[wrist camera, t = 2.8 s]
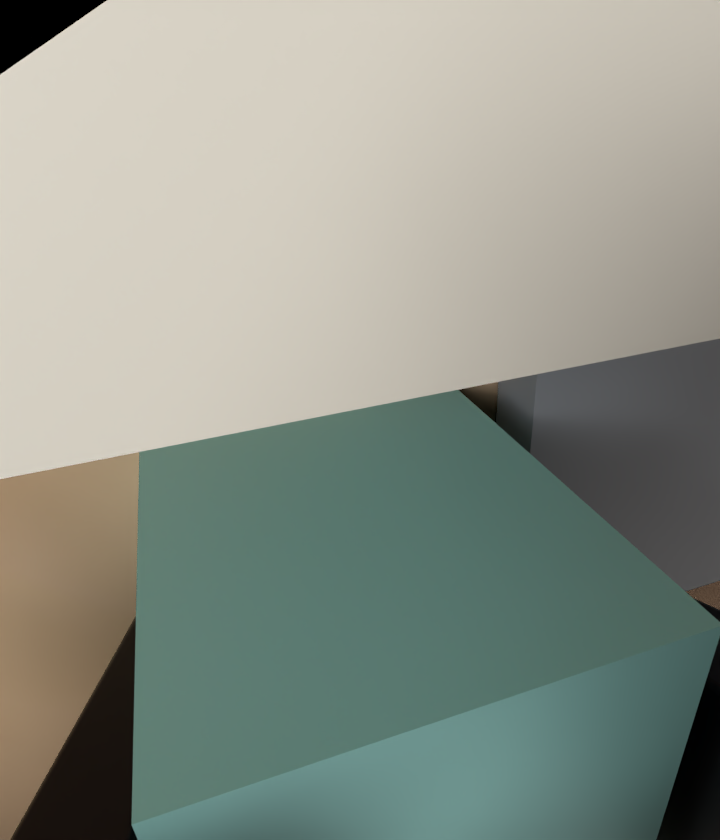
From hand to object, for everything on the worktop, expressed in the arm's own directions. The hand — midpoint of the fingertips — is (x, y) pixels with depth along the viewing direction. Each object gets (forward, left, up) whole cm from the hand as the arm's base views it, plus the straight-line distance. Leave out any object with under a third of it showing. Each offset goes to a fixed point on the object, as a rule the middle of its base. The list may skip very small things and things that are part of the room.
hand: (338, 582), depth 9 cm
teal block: (0, 0, -1) cm, 1 cm away
